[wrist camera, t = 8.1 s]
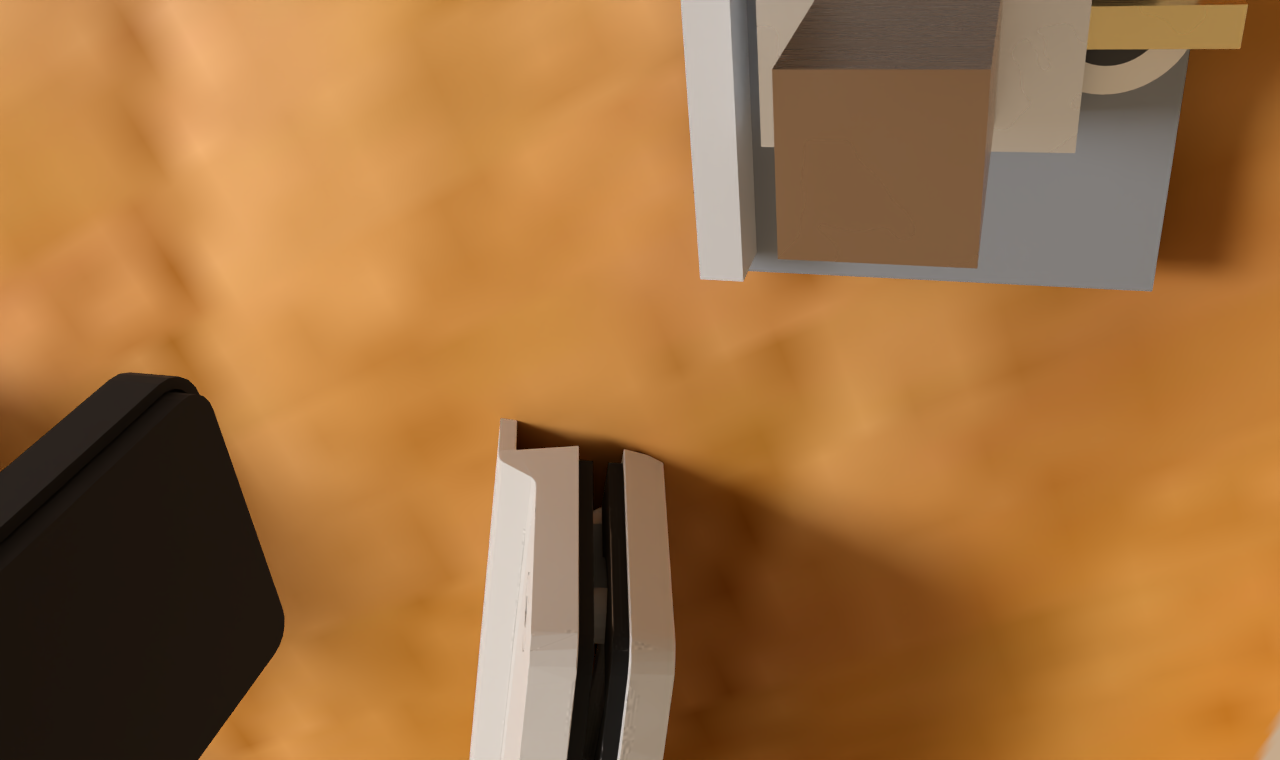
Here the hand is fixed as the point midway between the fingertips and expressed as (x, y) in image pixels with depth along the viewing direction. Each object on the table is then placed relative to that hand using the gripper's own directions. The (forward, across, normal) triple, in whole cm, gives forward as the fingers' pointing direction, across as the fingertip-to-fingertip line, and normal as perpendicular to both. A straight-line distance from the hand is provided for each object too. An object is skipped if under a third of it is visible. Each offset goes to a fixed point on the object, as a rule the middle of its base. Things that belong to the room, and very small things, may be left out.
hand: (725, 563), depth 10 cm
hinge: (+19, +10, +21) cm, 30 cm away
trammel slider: (+17, -2, +1) cm, 17 cm away
